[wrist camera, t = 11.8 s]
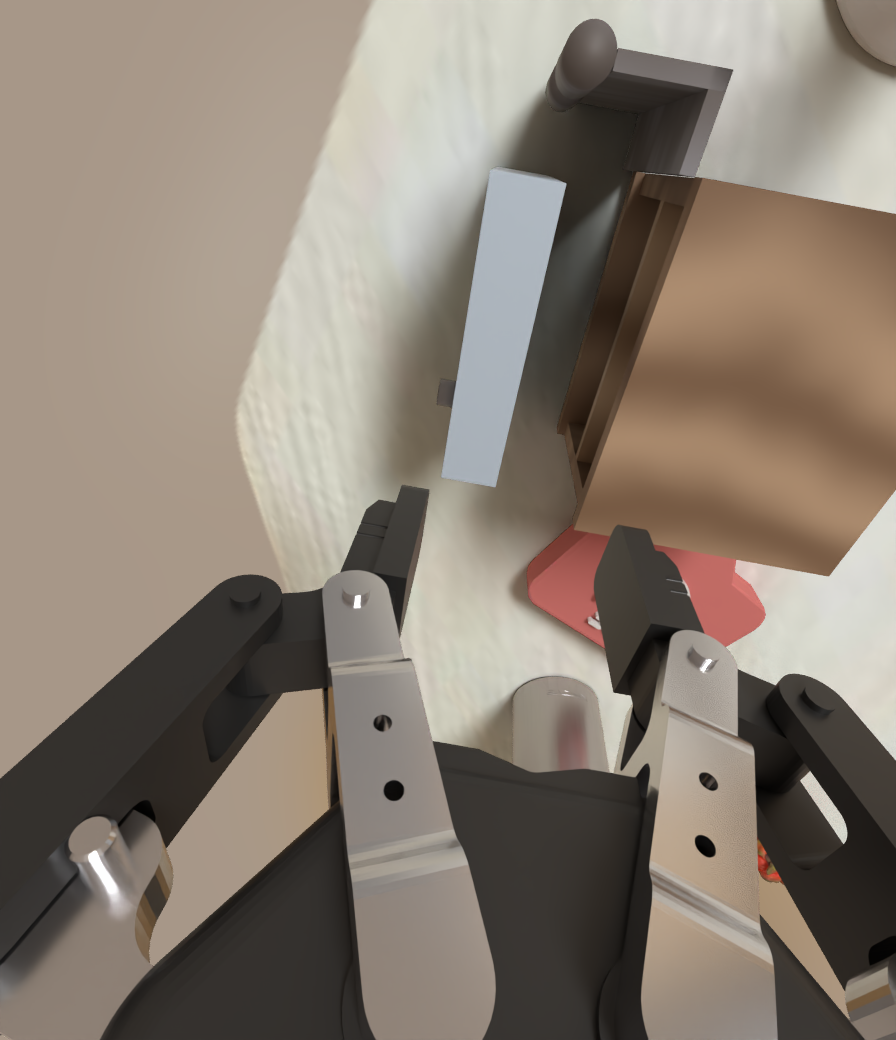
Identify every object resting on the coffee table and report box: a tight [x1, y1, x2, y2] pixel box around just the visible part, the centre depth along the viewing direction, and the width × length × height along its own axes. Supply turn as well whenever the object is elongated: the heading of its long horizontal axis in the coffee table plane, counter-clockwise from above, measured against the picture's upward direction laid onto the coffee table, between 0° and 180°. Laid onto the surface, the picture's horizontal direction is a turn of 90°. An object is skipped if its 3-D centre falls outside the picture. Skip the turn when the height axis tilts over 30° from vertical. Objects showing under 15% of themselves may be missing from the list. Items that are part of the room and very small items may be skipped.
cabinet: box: [546, 19, 896, 576], centre depth 28 cm, size 20×20×13 cm
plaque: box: [527, 524, 766, 649], centre depth 44 cm, size 18×4×15 cm
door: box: [437, 167, 567, 487], centre depth 29 cm, size 4×14×12 cm, turn 171°
